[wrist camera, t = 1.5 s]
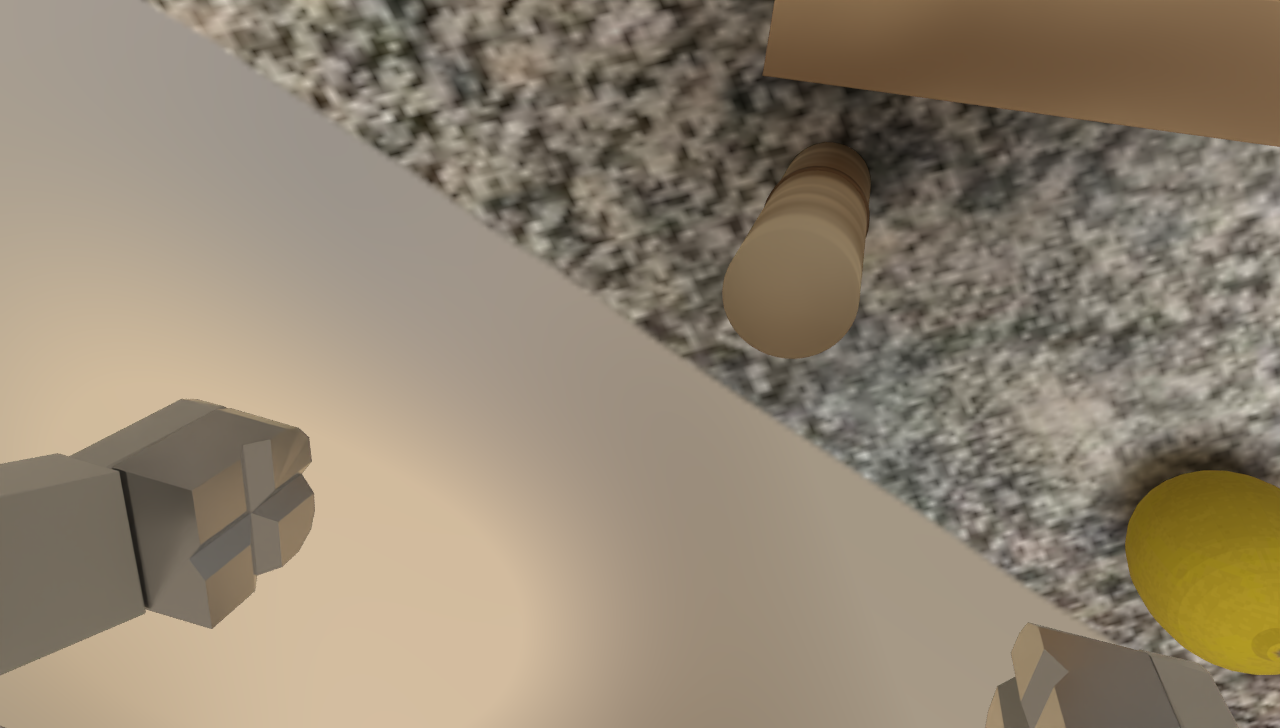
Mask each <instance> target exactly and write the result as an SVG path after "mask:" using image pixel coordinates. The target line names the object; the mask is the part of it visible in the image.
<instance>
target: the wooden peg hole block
mask: <svg viewBox="0 0 1280 728" xmlns="http://www.w3.org/2000/svg"><path fill="white" fill-rule="evenodd" d="M763 76H770V77H777V78H784V79H792V80H799V81H806V82H813V83H821V84H828V85H835V86H842V87H850V88H857V89H864V90H871V91H879V92H886V93H893V94H900V95H908V96H915V97H922V98H929V99H937V100H944V101H951V102H958V103H966V104H973V105H980V106H987V107H995V108H1002V109H1009V110H1017V111H1024V112H1031V113H1038V114H1046V115H1053V116H1060V117H1067V118H1075V119H1082V120H1089V121H1096V122H1104V123H1111V124H1118V125H1125V126H1133V127H1140V128H1147V129H1154V130H1162V131H1169V132H1176V133H1183V134H1191V135H1198V136H1205V137H1212V138H1220V139H1227V140H1234V141H1241V142H1249V143H1256V144H1263V145H1271V146H1278V147H1280V0H775V2H774V8H773V14H772V20H771V26H770V32H769V39H768V45H767V51H766V57H765V63H764V69H763Z"/></svg>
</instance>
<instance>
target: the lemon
mask: <svg viewBox="0 0 1280 728" xmlns="http://www.w3.org/2000/svg"><path fill="white" fill-rule="evenodd" d="M1125 550H1126V556H1127V562H1128V567H1129V572H1130V576H1131V579H1132V581H1133V584H1134V586H1135V588H1136V589H1137V591H1138V593H1139V595H1140V597H1141V598H1142V600H1143V602H1144V604H1145V606H1146V607H1147V609H1148V610H1149V612H1150V613H1151V614H1152V616H1153V617H1154V618H1155V619H1156V621H1157V622H1158V623H1159V624H1160V625H1161V626H1162V627H1163V628H1164V629H1165V630H1166V631H1167V632H1168V633H1169V634H1170V635H1171V636H1172V637H1173V638H1174V639H1175V640H1176V641H1177V642H1178V643H1179V644H1181V645H1182V646H1183V647H1184V648H1186V649H1187V650H1189V651H1190V652H1192V653H1194V654H1195V655H1197V656H1199V657H1200V658H1202V659H1204V660H1206V661H1208V662H1210V663H1212V664H1214V665H1217V666H1220V667H1223V668H1226V669H1229V670H1232V671H1237V672H1243V673H1249V674H1256V675H1276V674H1280V489H1279V488H1278V487H1276V486H1274V485H1271V484H1269V483H1267V482H1264V481H1262V480H1260V479H1257V478H1255V477H1252V476H1249V475H1245V474H1240V473H1235V472H1230V471H1218V470H1202V471H1197V472H1191V473H1186V474H1182V475H1179V476H1177V477H1174V478H1171V479H1169V480H1166V481H1164V482H1163V483H1161V484H1160V485H1158V486H1157V487H1155V488H1153V489H1152V490H1151V491H1150V492H1149V493H1148V494H1147V495H1146V496H1145V497H1144V498H1143V499H1142V500H1141V501H1140V502H1139V504H1138V505H1137V507H1136V509H1135V510H1134V512H1133V514H1132V516H1131V518H1130V520H1129V523H1128V529H1127V534H1126V541H1125Z"/></svg>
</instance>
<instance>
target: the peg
mask: <svg viewBox="0 0 1280 728" xmlns="http://www.w3.org/2000/svg"><path fill="white" fill-rule="evenodd" d="M870 188H871V179H870V173H869V170H868V167H867V165H866V163H865V161H864V160H863V159H862V157H861V156H860V155H859V154H858V153H857V152H856V151H854V150H853V149H851V148H849V147H848V146H845V145H843V144H839V143H832V142H826V143H819V144H815V145H812V146H810V147H808V148H806V149H805V150H803V151H802V152H801V153H799V154H798V155H797V156H796V157H795V158H794V160H793V161H792V162H791V164H790V166H789V167H788V169H787V170H786V172H785V174H784V175H783V177H782V179H781V180H780V182H779V183H778V184H777V185H776V186H775V187H774V189H773V190H772V191H771V193H770V195H769V197H768V198H767V200H766V203H765V206H764V208H763V210H762V212H761V213H760V215H759V217H758V218H757V220H756V222H755V223H754V225H753V227H752V228H751V230H750V232H749V233H748V235H747V237H746V238H745V240H744V241H743V243H742V245H741V246H740V248H739V250H738V251H737V253H736V255H735V256H734V258H733V260H732V261H731V263H730V265H729V267H728V269H727V272H726V274H725V278H724V282H723V291H722V292H723V303H724V309H725V312H726V315H727V317H728V319H729V321H730V323H731V325H732V326H733V328H734V330H735V331H736V332H737V333H738V334H739V336H740V337H741V338H742V339H743V340H745V341H746V342H747V343H748V344H749V345H751V346H752V347H754V348H755V349H757V350H759V351H761V352H763V353H766V354H768V355H772V356H775V357H781V358H792V359H795V358H805V357H809V356H813V355H816V354H819V353H821V352H823V351H825V350H827V349H829V348H830V347H832V346H833V345H835V344H836V343H837V342H838V341H839V340H841V339H842V338H843V336H844V335H845V334H846V333H847V332H848V330H849V329H850V327H851V326H852V324H853V322H854V319H855V317H856V314H857V311H858V306H859V299H860V289H861V279H862V269H863V259H864V249H865V239H866V235H867V232H868V228H869V217H870V213H869V198H870Z"/></svg>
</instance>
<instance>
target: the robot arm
mask: <svg viewBox="0 0 1280 728" xmlns="http://www.w3.org/2000/svg"><path fill="white" fill-rule="evenodd" d="M311 462H312V459H311V450H310V441H309V437H308V436H307V435H306V434H305V433H304V432H303V431H302V430H300V429H299V428H297V427H294V426H290V425H287V424H283V423H280V422H276V421H273V420H270V419H266V418H263V417H259V416H256V415H252V414H249V413H245V412H242V411H239V410H235V409H232V408H226V407H224V406H221V405H217V404H213V403H209V402H205V401H202V400H198V399H180V400H178V401H177V402H175V403H173V404H171V405H169V406H167V407H165V408H163V409H161V410H159V411H157V412H155V413H153V414H151V415H149V416H147V417H145V418H143V419H141V420H139V421H137V422H135V423H134V424H132V425H130V426H128V427H126V428H124V429H122V430H120V431H118V432H116V433H114V434H112V435H110V436H108V437H106V438H104V439H102V440H100V441H98V442H97V443H95V444H93V445H91V446H89V447H87V448H85V449H83V450H81V451H79V452H77V453H75V454H73V455H71V456H66V455H62V454H52V455H47V456H41V457H36V458H30V459H25V460H19V461H14V462H8V463H4V464H0V675H2V674H4V673H7V672H9V671H12V670H14V669H16V668H18V667H21V666H23V665H26V664H28V663H30V662H33V661H35V660H37V659H40V658H41V657H44V656H47V655H49V654H51V653H54V652H56V651H58V650H61V649H63V648H65V647H68V646H70V645H72V644H75V643H77V642H79V641H82V640H84V639H86V638H89V637H91V636H93V635H96V634H98V633H100V632H103V631H105V630H108V629H110V628H112V627H115V626H117V625H119V624H122V623H124V622H126V621H128V620H131V619H133V618H136V617H138V616H140V615H143V614H145V612H146V611H145V609H147V610H150V611H153V612H156V613H160V614H163V615H167V616H170V617H173V618H177V619H180V620H183V621H187V622H190V623H193V624H197V625H200V626H204V627H207V628H211V629H212V628H213V627H215V626H216V625H217V624H218V623H219V622H220V621H222V620H223V619H224V618H225V617H226V616H227V615H228V614H229V613H231V612H232V611H233V610H234V609H235V608H236V607H237V606H238V605H240V604H241V603H242V602H243V601H244V600H245V599H246V598H248V597H249V596H250V595H251V594H252V593H253V592H254V591H255V588H256V580H257V575H259V574H263V573H265V572H268V571H271V570H274V569H277V568H280V567H283V566H284V565H285V564H286V563H287V562H288V561H289V560H290V559H291V558H292V557H293V556H294V555H295V554H296V553H298V552H299V550H300V548H301V546H302V545H303V543H304V541H305V539H306V537H307V536H308V534H309V532H310V530H311V527H312V522H313V517H314V512H315V504H314V493H313V491H312V489H311V488H310V486H309V485H308V483H307V481H306V480H305V479H304V477H303V475H302V473H303V472H304V471H305V469H306V468H307V467H308V466H309V464H310V463H311ZM1011 656H1012V661H1013V665H1014V671H1015V676H1016V677H1014V678H1012V679H1010V680H1008V681H1006V682H1004V683H1002V684H1001V685H999V686H997V688H996V691H995V694H994V696H993V699H992V702H991V705H990V707H989V710H988V714H987V720H986V726H985V728H1239V727H1238V725H1237V723H1236V722H1235V720H1234V718H1233V716H1232V714H1231V712H1230V710H1229V708H1228V706H1227V704H1226V703H1225V701H1224V699H1223V697H1222V695H1221V693H1220V691H1219V689H1218V687H1217V685H1216V684H1215V682H1214V680H1213V678H1212V676H1211V674H1210V673H1209V672H1208V671H1207V670H1206V669H1205V668H1203V667H1202V666H1201V665H1200V664H1199V663H1196V662H1191V661H1187V660H1183V659H1179V658H1175V657H1170V656H1166V655H1162V654H1158V653H1153V652H1149V651H1145V650H1141V649H1140V650H1134V649H1131V648H1127V647H1123V646H1119V645H1115V644H1111V643H1107V642H1103V641H1099V640H1095V639H1091V638H1087V637H1083V636H1079V635H1075V634H1072V633H1068V632H1064V631H1060V630H1056V629H1052V628H1048V627H1044V626H1041V625H1036V624H1033V623H1027V624H1026V625H1025V627H1024V628H1023V629H1022V630H1021V632H1020V633H1019V635H1018V637H1017V640H1016V642H1015V644H1014V647H1013V649H1012V651H1011ZM0 728H5V727H2V726H0Z"/></svg>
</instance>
